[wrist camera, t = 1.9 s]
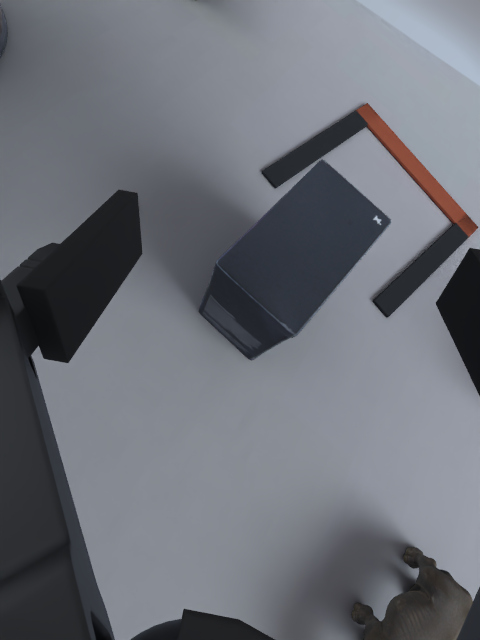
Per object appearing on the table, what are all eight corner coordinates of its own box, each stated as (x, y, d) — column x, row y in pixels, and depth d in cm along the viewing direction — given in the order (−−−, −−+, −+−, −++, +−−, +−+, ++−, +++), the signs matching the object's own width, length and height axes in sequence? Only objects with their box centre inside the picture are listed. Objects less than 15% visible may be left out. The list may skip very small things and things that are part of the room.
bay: (261, 172, 33) (262, 170, 33) (365, 105, 39) (367, 102, 38) (386, 317, 33) (388, 316, 32) (476, 228, 38) (478, 227, 37)
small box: (272, 230, 32) (323, 150, 22) (324, 278, 32) (399, 220, 22) (193, 309, 29) (211, 257, 19) (251, 363, 29) (300, 340, 19)
